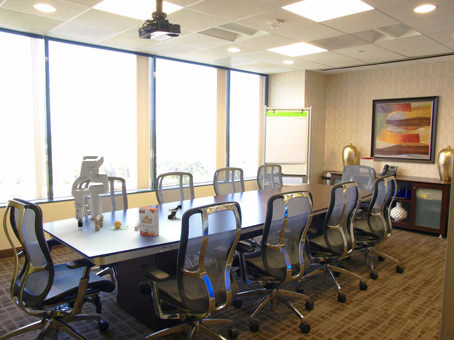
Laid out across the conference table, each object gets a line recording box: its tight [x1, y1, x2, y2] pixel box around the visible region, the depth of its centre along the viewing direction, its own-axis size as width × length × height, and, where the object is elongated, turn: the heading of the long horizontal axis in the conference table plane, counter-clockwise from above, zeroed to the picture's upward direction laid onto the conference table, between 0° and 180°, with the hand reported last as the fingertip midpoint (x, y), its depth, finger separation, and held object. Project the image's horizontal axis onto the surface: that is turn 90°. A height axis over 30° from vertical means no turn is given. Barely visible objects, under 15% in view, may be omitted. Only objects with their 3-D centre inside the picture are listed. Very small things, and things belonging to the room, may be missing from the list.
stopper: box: [134, 220, 140, 231], centre depth 303 cm, size 20×2×3 cm, turn 6°
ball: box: [113, 220, 122, 228], centre depth 300 cm, size 6×6×6 cm
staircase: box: [167, 204, 183, 220], centre depth 336 cm, size 9×10×12 cm
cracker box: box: [138, 206, 160, 237], centre depth 279 cm, size 14×6×21 cm, turn 66°
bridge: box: [94, 214, 104, 232], centre depth 300 cm, size 3×15×10 cm, turn 6°
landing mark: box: [109, 224, 129, 231], centre depth 302 cm, size 13×13×1 cm
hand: (80, 227), depth 299 cm, fingers closed
